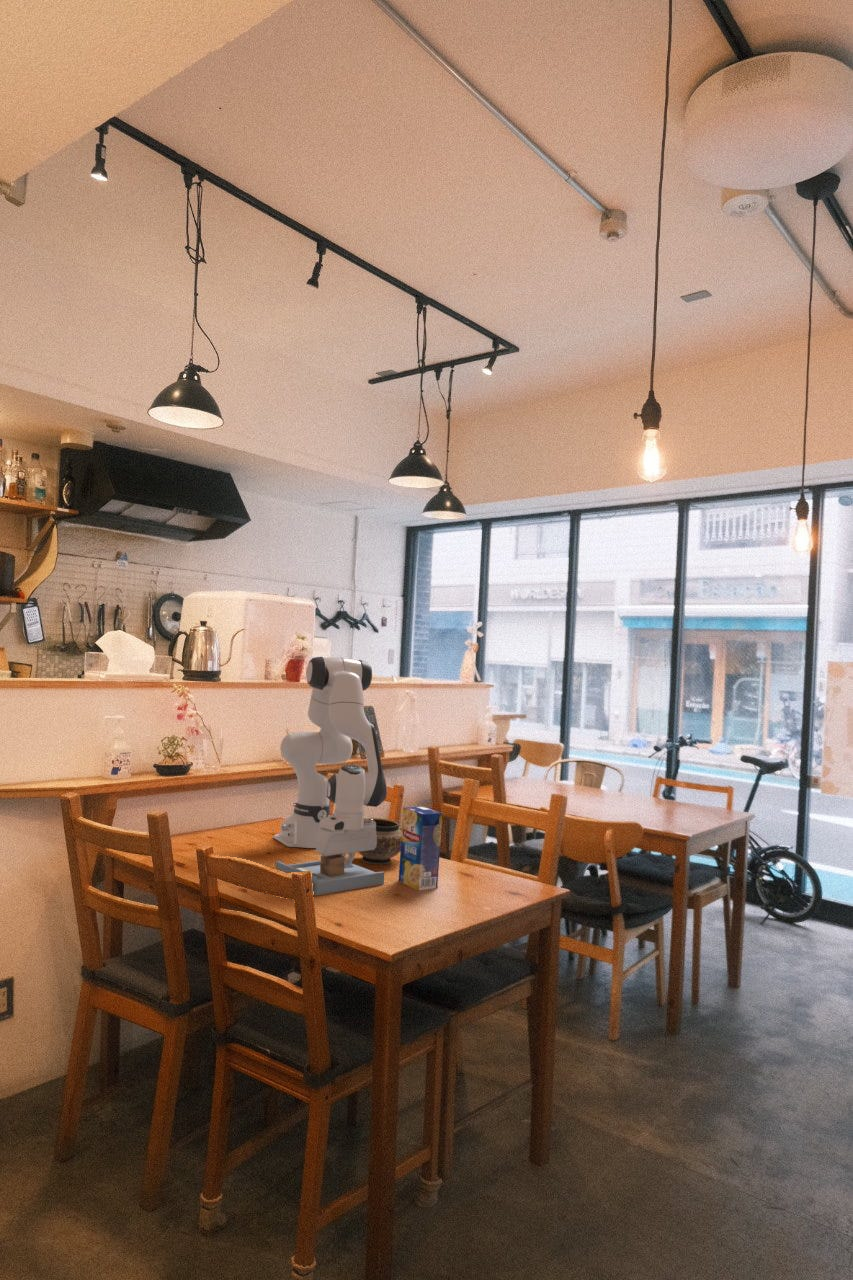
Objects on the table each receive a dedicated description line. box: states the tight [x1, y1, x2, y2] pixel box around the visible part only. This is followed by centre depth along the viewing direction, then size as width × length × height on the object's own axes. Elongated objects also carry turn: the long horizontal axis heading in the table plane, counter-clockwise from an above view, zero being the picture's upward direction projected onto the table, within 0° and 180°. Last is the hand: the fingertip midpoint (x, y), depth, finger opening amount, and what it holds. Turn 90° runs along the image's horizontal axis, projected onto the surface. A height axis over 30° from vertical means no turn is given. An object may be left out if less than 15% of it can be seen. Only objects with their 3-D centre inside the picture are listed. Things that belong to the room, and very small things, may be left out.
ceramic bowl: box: [357, 817, 402, 865], centre depth 272 cm, size 24×18×15 cm
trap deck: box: [274, 857, 385, 897], centre depth 244 cm, size 20×25×5 cm
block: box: [320, 854, 346, 877], centre depth 243 cm, size 5×5×5 cm
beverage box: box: [398, 806, 443, 891], centre depth 248 cm, size 7×11×22 cm, turn 34°
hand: (345, 867), depth 246 cm, fingers closed
